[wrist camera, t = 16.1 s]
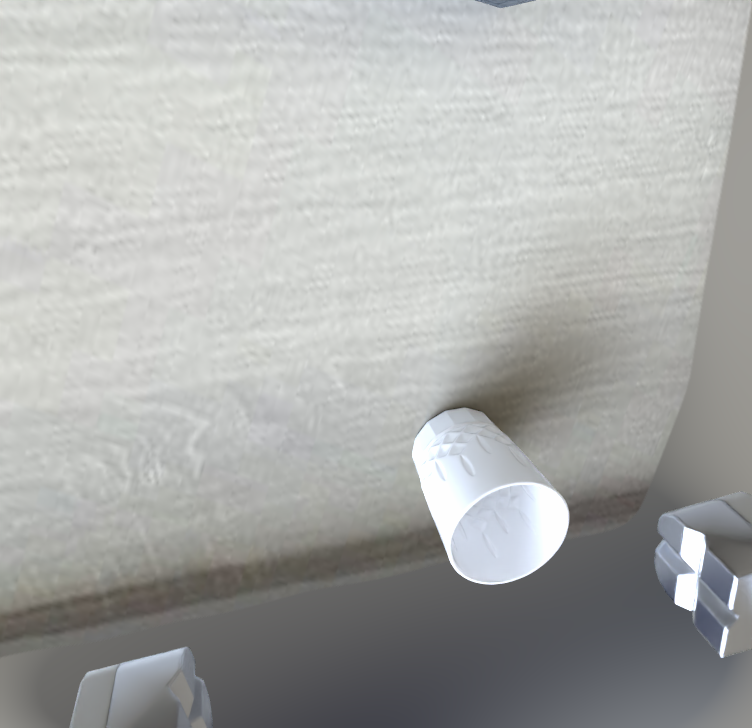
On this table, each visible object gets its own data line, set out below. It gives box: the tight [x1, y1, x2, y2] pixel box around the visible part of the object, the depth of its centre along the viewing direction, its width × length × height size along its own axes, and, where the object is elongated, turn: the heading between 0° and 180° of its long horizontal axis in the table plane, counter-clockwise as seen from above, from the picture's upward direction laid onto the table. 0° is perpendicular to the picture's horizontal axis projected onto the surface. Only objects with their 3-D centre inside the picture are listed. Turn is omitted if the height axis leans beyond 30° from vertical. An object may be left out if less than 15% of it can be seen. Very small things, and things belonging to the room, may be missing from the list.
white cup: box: [412, 408, 569, 584], centre depth 41 cm, size 8×8×10 cm
